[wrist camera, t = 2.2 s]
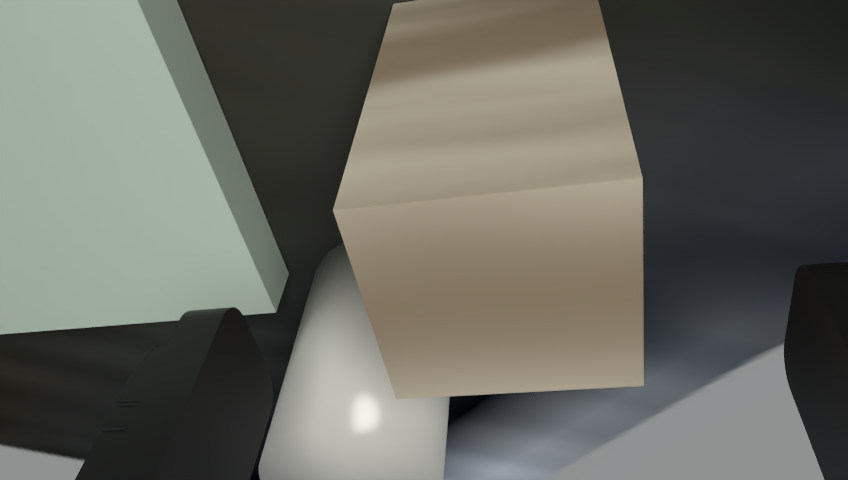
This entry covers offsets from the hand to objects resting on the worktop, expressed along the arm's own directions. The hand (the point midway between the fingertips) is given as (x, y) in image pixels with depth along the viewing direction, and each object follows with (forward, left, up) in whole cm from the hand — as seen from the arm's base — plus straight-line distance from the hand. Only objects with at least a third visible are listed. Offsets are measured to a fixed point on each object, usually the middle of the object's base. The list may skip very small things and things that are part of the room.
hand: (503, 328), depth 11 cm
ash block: (0, 0, -7) cm, 7 cm away
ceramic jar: (+6, -4, -7) cm, 10 cm away
